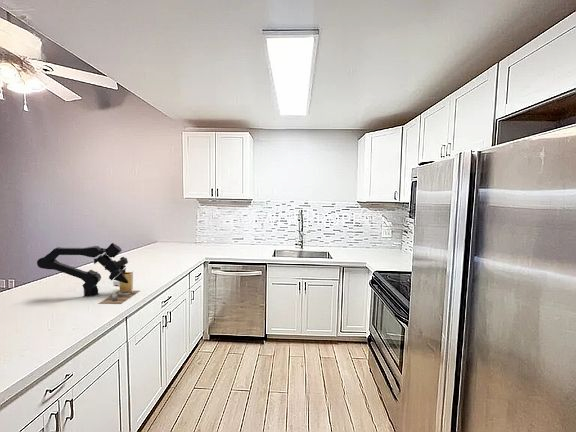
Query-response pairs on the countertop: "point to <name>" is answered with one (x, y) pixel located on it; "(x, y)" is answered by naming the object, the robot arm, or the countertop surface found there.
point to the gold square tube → (129, 285)
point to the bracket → (117, 281)
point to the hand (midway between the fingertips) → (128, 281)
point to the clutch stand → (119, 297)
